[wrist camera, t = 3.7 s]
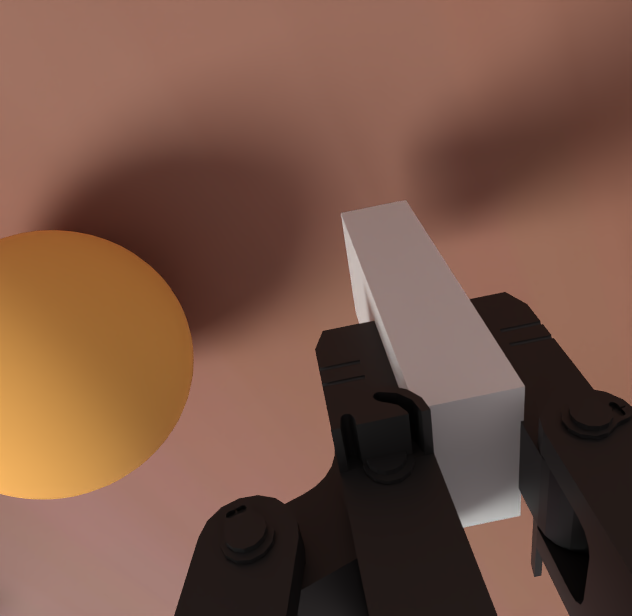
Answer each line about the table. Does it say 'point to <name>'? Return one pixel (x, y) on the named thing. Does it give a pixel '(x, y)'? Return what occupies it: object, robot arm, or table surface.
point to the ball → (84, 363)
